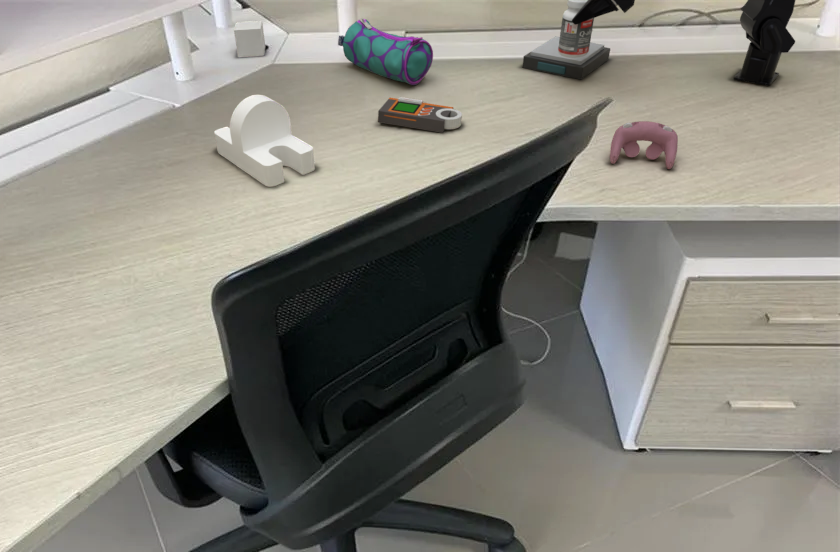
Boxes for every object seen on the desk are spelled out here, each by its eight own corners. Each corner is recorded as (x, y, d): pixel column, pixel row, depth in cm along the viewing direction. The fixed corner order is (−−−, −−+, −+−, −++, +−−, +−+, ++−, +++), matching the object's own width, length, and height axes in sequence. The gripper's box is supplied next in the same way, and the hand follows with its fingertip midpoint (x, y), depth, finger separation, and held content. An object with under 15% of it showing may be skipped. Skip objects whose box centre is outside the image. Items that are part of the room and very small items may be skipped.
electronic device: (457, 121, 123) (376, 108, 127) (455, 137, 125) (376, 123, 129) (466, 106, 127) (388, 94, 132) (465, 121, 129) (388, 109, 134)
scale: (551, 49, 154) (553, 34, 152) (608, 59, 147) (611, 44, 145) (521, 68, 146) (523, 52, 144) (580, 80, 140) (582, 64, 137)
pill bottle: (581, 60, 132) (590, 4, 126) (552, 55, 135) (559, 1, 129) (592, 50, 136) (601, -5, 129) (564, 46, 139) (572, -8, 132)
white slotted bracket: (269, 188, 113) (260, 124, 106) (215, 151, 125) (204, 91, 118) (317, 169, 117) (312, 106, 110) (261, 135, 129) (253, 76, 122)
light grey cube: (265, 47, 165) (262, 20, 162) (263, 55, 161) (260, 28, 157) (240, 48, 166) (236, 22, 162) (237, 57, 161) (233, 30, 157)
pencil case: (338, 67, 153) (336, 21, 146) (369, 56, 157) (368, 11, 150) (404, 92, 140) (404, 43, 134) (436, 80, 144) (437, 31, 138)
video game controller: (671, 169, 113) (680, 124, 112) (674, 169, 109) (684, 123, 107) (606, 163, 116) (615, 119, 114) (607, 163, 112) (616, 117, 110)
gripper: (606, -97, 127) (536, -27, 135) (628, -75, 113) (549, 1, 121) (642, -51, 131) (572, 14, 140) (668, -25, 117) (589, 46, 126)
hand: (570, 17), depth 131 cm, fingers closed on pill bottle, 6 cm apart
